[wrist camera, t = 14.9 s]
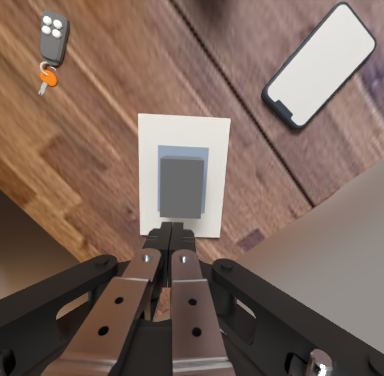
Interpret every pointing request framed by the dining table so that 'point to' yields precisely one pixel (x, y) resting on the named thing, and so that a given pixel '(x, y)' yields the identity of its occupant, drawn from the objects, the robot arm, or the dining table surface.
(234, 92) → the dining table surface
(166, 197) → the block
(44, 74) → the key chain
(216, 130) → the board
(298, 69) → the smartphone
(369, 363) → the robot arm
